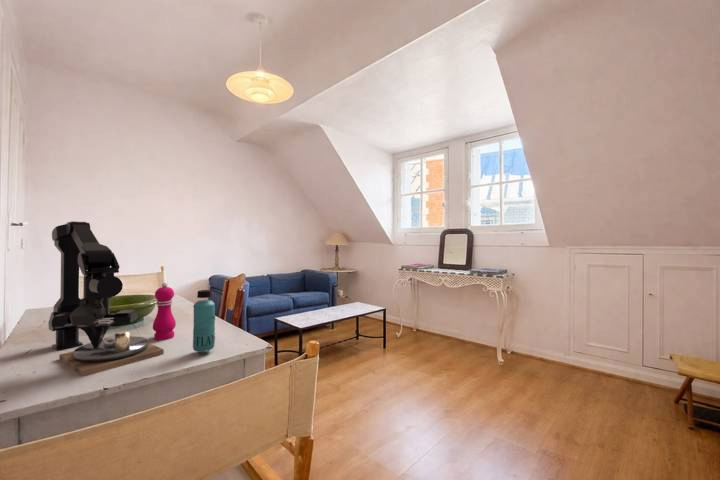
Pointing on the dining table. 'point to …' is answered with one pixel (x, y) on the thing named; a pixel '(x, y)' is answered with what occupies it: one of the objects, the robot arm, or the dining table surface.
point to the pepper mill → (164, 314)
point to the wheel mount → (95, 367)
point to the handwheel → (111, 348)
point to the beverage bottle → (204, 322)
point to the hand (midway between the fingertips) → (96, 348)
